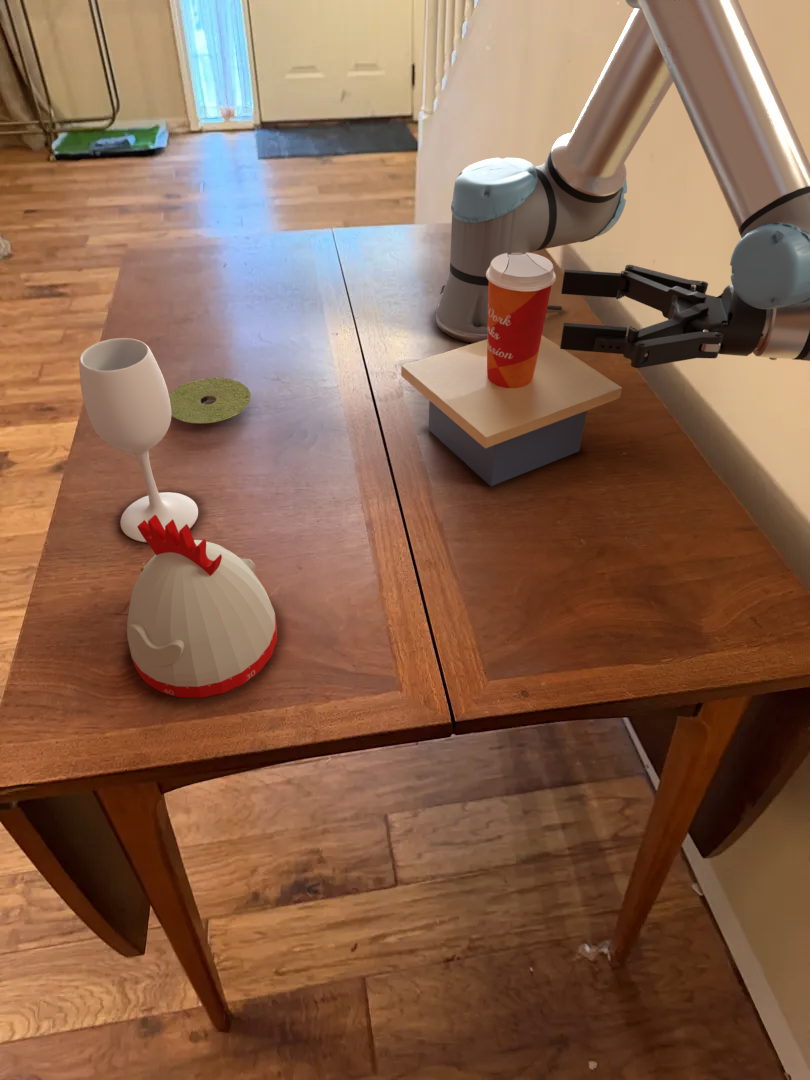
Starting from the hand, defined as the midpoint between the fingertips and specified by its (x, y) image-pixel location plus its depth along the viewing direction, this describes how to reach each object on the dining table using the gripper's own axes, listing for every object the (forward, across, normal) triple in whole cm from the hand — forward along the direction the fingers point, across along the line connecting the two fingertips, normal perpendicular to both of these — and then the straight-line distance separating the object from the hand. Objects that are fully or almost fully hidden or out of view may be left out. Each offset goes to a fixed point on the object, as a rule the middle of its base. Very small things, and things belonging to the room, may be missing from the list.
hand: (562, 307), depth 88 cm
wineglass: (+43, -22, -19) cm, 52 cm away
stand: (+5, 0, -19) cm, 19 cm away
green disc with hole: (+45, 0, -19) cm, 49 cm away
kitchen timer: (+32, -38, -19) cm, 53 cm away
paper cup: (+5, 0, -10) cm, 11 cm away
